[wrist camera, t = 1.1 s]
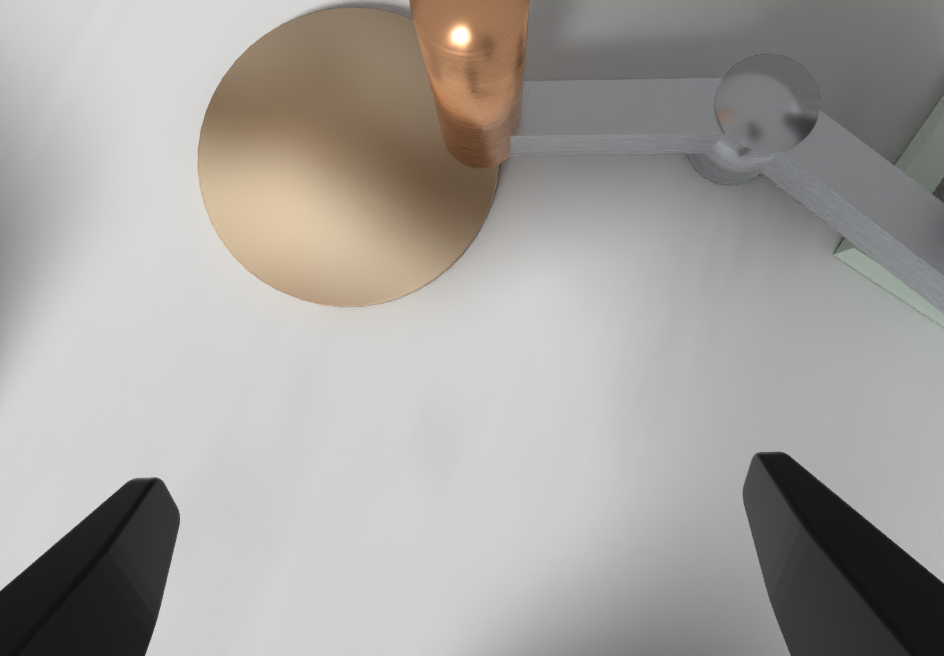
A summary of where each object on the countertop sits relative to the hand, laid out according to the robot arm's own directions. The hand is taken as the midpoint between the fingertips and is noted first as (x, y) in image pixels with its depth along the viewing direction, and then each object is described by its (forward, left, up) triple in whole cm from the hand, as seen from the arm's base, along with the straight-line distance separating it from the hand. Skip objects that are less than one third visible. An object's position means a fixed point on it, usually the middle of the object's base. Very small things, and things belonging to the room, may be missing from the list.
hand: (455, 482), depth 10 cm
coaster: (+8, +6, -11) cm, 15 cm away
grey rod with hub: (+7, -8, -10) cm, 15 cm away
